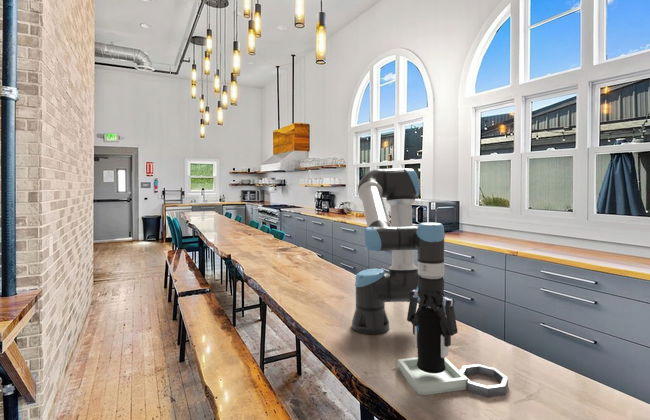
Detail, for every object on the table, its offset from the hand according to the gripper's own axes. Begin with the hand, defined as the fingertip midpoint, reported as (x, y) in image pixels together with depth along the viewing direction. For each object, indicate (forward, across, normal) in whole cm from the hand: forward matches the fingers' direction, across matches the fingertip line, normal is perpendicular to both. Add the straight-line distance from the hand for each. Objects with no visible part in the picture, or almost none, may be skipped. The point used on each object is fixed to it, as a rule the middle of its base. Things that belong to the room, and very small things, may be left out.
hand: (431, 350), depth 107 cm
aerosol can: (+5, 0, 0) cm, 5 cm away
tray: (+8, 0, 0) cm, 8 cm away
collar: (+8, +12, +8) cm, 17 cm away
